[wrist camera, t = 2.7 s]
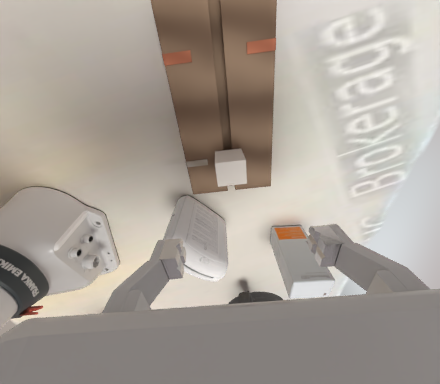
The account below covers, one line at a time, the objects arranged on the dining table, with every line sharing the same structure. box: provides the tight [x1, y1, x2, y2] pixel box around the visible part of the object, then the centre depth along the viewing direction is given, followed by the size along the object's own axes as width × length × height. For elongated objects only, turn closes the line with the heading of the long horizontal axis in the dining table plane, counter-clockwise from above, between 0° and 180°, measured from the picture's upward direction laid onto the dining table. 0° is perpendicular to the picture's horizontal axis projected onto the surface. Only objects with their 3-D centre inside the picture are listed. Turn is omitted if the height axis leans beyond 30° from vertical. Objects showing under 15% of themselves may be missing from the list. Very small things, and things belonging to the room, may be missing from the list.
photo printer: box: [163, 195, 228, 281], centre depth 28 cm, size 10×4×12 cm, turn 49°
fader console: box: [151, 0, 277, 194], centre depth 23 cm, size 22×12×3 cm, turn 6°
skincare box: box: [270, 225, 335, 298], centre depth 31 cm, size 6×4×12 cm
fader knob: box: [215, 148, 247, 187], centre depth 23 cm, size 3×4×6 cm
